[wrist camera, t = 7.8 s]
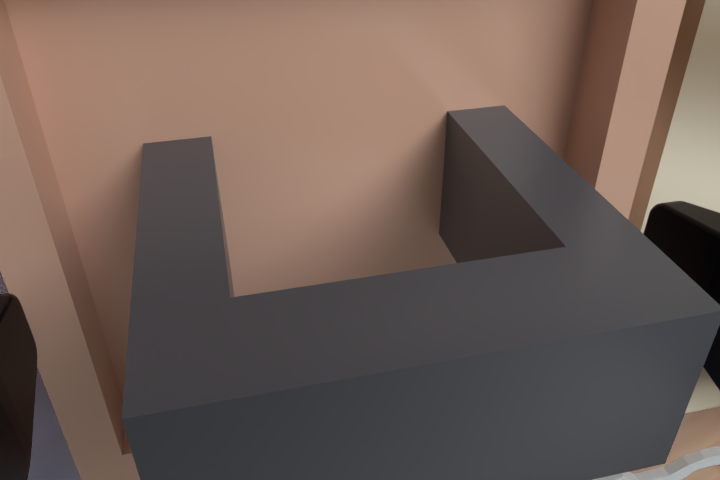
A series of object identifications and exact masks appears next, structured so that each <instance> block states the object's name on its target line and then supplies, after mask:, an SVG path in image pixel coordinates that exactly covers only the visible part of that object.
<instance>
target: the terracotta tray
mask: <svg viewBox="0 0 720 480" xmlns="http://www.w3.org/2000/svg"><path fill="white" fill-rule="evenodd" d="M685 4H686V0H0V272H1V274H2V277H3V280H4V282H5V285H6V287H7V290H8V293H11V294H14V295H15V296H16V297H17V298H18V299H19V301H20V303H21V305H22V308H23V310H24V313H25V316H26V318H27V321H28V324H29V326H30V329H31V332H32V334H33V337H34V339H35V343H36V347H37V367H38V370H39V373H40V375H41V378H42V380H43V383H44V386H45V388H46V391H47V393H48V396H49V398H50V401H51V404H52V406H53V409H54V411H55V414H56V417H57V419H58V422H59V424H60V427H61V429H62V432H63V435H64V437H65V440H66V442H67V445H68V448H69V450H70V453H71V455H72V458H73V460H74V463H75V466H76V468H77V471H78V473H79V476H80V479H81V480H140V477H139V474H138V471H137V468H136V464H135V461H134V458H133V455H132V452H131V448H130V445H129V442H128V439H127V436H126V433H125V429H124V426H123V423H122V420H121V417H122V404H123V392H124V379H125V367H126V354H127V342H128V329H129V317H130V304H131V292H132V279H133V267H134V254H135V242H136V229H137V217H138V204H139V192H140V179H141V167H142V154H143V143H152V142H161V141H171V140H180V139H190V138H199V137H209V136H211V138H212V145H213V152H214V158H215V165H216V172H217V179H218V186H219V192H220V199H221V206H222V213H223V219H224V226H225V233H226V240H227V246H228V253H229V260H230V267H231V275H232V283H233V291H234V297H238V296H244V295H251V294H257V293H264V292H271V291H277V290H284V289H290V288H297V287H304V286H310V285H317V284H323V283H330V282H337V281H343V280H350V279H356V278H363V277H370V276H376V275H383V274H389V273H396V272H403V271H409V270H416V269H422V268H429V267H435V266H442V265H449V264H455V263H456V261H455V259H454V258H453V256H452V254H451V253H450V251H449V249H448V248H447V246H446V245H445V243H444V241H443V240H442V238H441V236H440V235H439V225H440V210H441V196H442V182H443V168H444V154H445V140H446V126H447V111H455V110H464V109H474V108H483V107H493V106H502V105H505V106H506V107H507V108H508V109H509V110H510V111H511V112H512V113H513V114H515V115H516V116H517V117H518V118H519V119H520V120H521V121H522V122H523V123H524V124H525V125H526V126H527V127H529V128H530V129H531V130H532V131H533V132H534V133H535V134H536V135H537V136H538V137H539V138H540V139H542V140H543V141H544V142H545V143H546V144H547V145H548V146H549V147H550V148H551V149H552V150H553V151H554V152H556V153H557V154H558V155H559V156H560V157H561V158H562V159H563V160H564V161H565V162H566V163H567V164H568V165H570V166H571V167H572V168H573V169H574V170H575V171H576V172H577V173H578V174H579V175H580V176H581V177H582V178H584V179H585V180H586V181H587V182H588V183H589V184H590V185H591V186H592V187H593V188H594V189H595V190H596V191H598V192H599V193H600V194H601V195H602V196H603V197H604V198H605V199H606V200H607V201H608V202H609V203H610V204H612V205H613V206H614V207H615V208H616V209H617V210H618V211H619V212H620V213H621V214H622V215H623V216H624V217H626V218H627V219H628V218H629V215H630V211H631V207H632V203H633V200H634V196H635V192H636V188H637V185H638V181H639V177H640V173H641V169H642V166H643V162H644V158H645V154H646V151H647V147H648V143H649V139H650V136H651V132H652V128H653V124H654V121H655V117H656V113H657V109H658V106H659V102H660V98H661V94H662V90H663V87H664V83H665V79H666V75H667V72H668V68H669V64H670V60H671V57H672V53H673V49H674V45H675V42H676V38H677V34H678V30H679V26H680V23H681V19H682V15H683V11H684V8H685Z"/></svg>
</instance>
